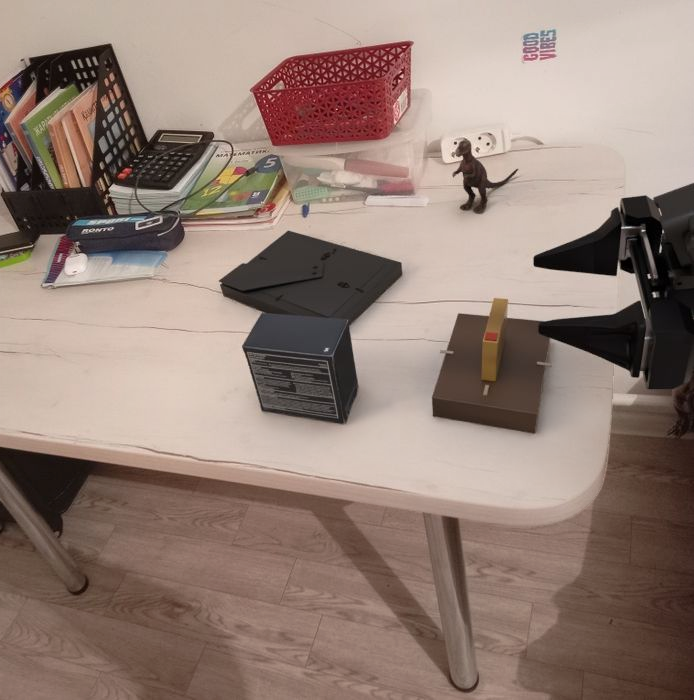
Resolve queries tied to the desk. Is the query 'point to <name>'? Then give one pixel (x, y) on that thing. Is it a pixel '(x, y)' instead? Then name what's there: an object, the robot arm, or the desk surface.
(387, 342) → the desk surface
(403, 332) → the desk surface
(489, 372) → the yellow rectangular slab
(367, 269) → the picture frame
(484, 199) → the dinosaur model
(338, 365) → the small box
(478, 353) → the plate
